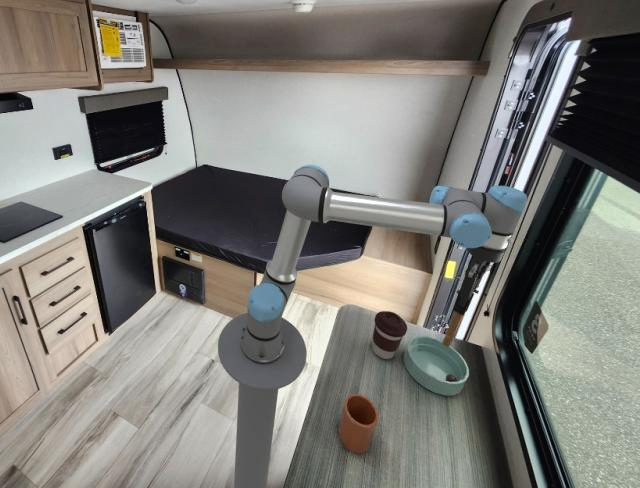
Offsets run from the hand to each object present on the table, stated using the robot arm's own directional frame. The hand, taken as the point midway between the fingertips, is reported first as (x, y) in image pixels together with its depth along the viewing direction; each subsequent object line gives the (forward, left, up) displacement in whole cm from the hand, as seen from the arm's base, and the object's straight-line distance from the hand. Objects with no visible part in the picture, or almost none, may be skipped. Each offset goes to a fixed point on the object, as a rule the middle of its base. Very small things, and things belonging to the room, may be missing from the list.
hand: (460, 310), depth 91 cm
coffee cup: (-15, -6, -27) cm, 31 cm away
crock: (-6, -38, -27) cm, 47 cm away
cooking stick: (0, 0, -14) cm, 14 cm away
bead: (+5, 0, -25) cm, 25 cm away
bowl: (-1, 0, -27) cm, 27 cm away
